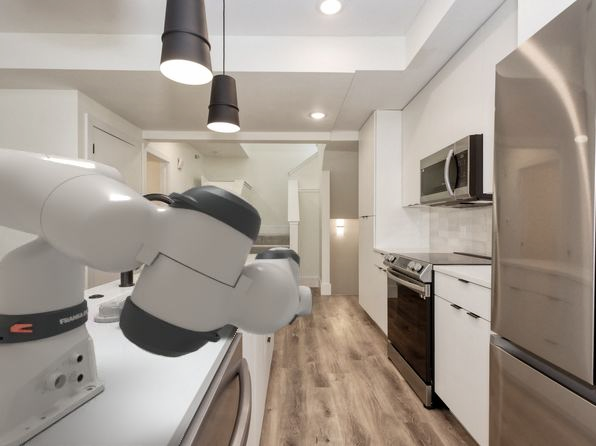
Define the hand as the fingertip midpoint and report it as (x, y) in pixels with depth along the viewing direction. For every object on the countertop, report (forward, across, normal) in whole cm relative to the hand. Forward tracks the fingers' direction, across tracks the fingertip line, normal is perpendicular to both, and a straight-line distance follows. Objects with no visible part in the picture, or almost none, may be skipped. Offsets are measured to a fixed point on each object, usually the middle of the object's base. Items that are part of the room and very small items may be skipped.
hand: (199, 302), depth 86 cm
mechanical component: (+27, +8, -6) cm, 29 cm away
